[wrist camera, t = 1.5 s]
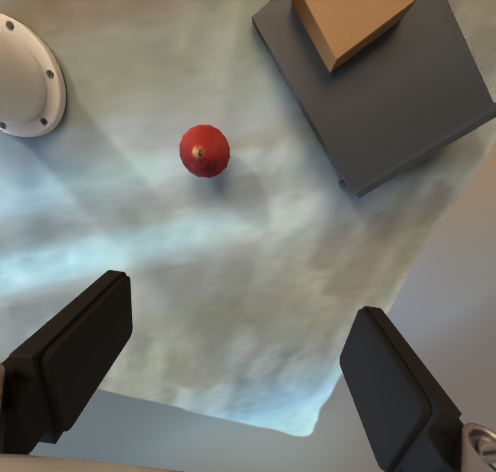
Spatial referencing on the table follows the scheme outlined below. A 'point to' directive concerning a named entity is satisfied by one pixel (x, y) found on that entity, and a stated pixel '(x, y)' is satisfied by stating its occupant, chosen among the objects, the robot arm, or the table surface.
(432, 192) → the table surface
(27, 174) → the table surface
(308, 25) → the cardboard packet
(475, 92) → the ramp
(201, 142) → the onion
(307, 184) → the table surface
